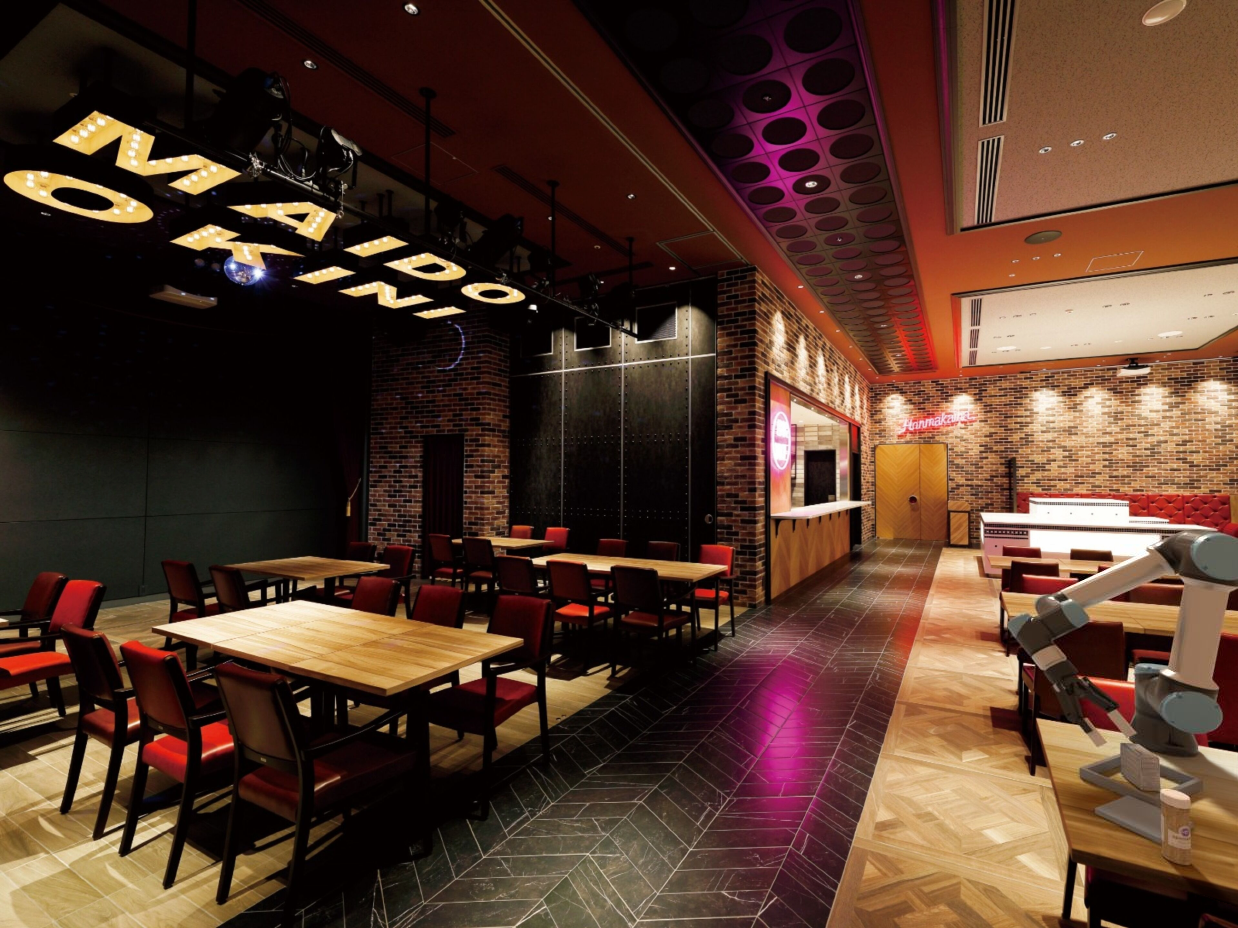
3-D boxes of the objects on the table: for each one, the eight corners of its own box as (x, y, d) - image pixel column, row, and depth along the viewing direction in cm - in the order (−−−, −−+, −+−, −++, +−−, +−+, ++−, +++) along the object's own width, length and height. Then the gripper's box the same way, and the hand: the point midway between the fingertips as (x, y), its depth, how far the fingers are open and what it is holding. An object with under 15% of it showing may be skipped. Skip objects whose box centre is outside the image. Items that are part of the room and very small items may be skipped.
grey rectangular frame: (1126, 760, 160) (1126, 751, 160) (1202, 789, 145) (1202, 779, 145) (1079, 777, 151) (1079, 767, 151) (1156, 809, 136) (1155, 799, 136)
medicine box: (1161, 792, 143) (1160, 757, 144) (1140, 790, 144) (1140, 756, 145) (1139, 776, 151) (1138, 743, 151) (1120, 774, 152) (1119, 741, 152)
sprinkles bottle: (1181, 867, 116) (1180, 801, 116) (1155, 853, 120) (1154, 789, 121) (1197, 864, 117) (1196, 797, 117) (1171, 849, 122) (1170, 786, 122)
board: (1128, 799, 140) (1128, 794, 140) (1192, 827, 129) (1192, 822, 129) (1095, 813, 135) (1094, 808, 135) (1159, 843, 124) (1159, 837, 124)
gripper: (1071, 665, 173) (1131, 737, 159) (1017, 677, 163) (1077, 754, 149) (1091, 653, 168) (1155, 725, 154) (1037, 664, 158) (1101, 742, 144)
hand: (1117, 740), depth 151 cm, fingers open, 13 cm apart
